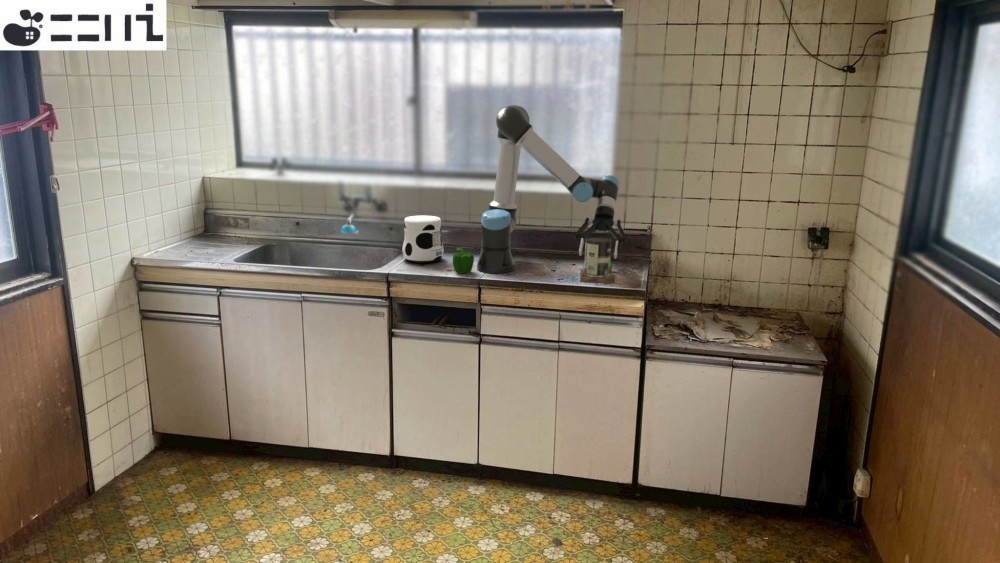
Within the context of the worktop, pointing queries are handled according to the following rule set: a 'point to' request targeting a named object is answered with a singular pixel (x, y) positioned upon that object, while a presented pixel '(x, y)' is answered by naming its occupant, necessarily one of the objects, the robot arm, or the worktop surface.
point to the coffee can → (597, 256)
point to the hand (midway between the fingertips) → (597, 255)
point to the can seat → (605, 279)
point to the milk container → (422, 239)
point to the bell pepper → (463, 261)
